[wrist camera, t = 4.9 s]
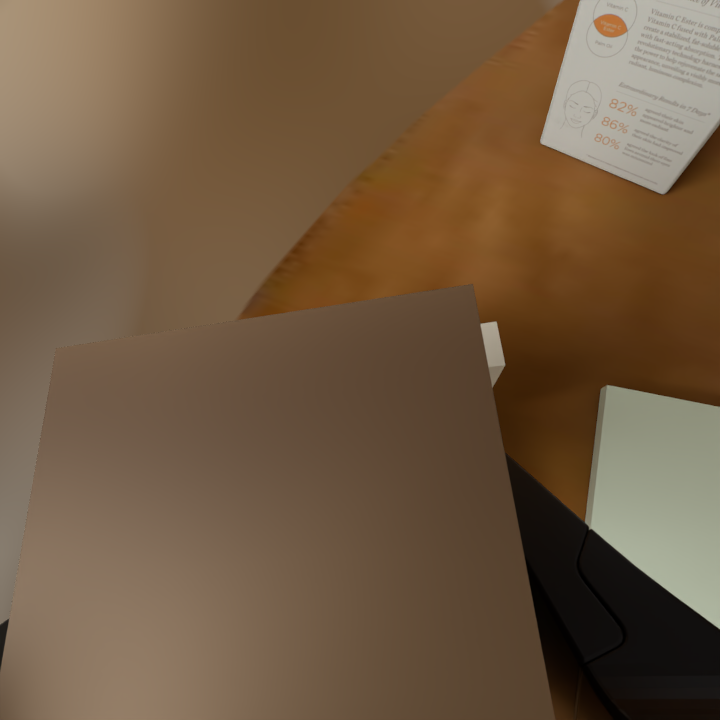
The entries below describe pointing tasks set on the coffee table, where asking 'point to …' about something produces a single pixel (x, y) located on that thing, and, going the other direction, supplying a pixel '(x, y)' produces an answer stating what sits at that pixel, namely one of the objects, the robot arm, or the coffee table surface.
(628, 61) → the small box
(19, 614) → the walnut block
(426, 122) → the coffee table surface
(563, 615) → the robot arm
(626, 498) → the pad
